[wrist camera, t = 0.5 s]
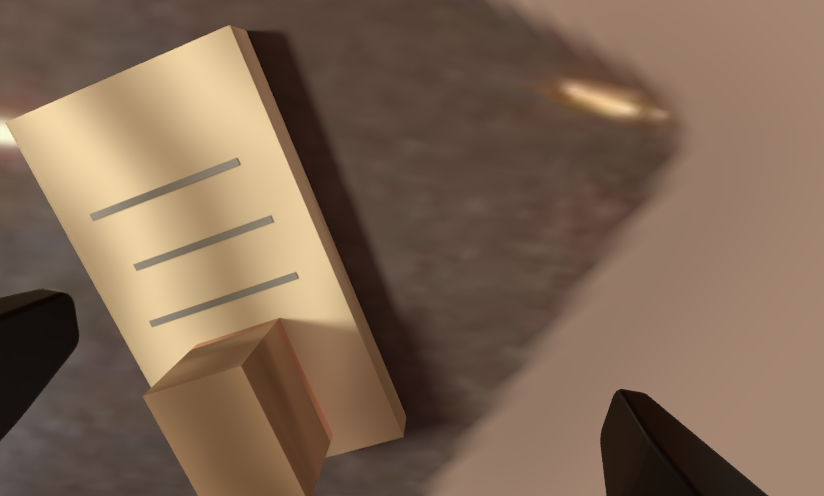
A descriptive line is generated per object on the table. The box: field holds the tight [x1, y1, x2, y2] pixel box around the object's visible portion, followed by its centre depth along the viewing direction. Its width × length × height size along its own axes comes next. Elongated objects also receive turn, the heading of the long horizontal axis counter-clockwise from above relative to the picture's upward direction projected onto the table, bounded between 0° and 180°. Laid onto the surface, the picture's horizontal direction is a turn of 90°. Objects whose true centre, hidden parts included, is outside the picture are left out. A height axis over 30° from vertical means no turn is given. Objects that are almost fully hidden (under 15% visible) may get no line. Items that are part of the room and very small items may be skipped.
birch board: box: [6, 25, 406, 458], centre depth 22 cm, size 10×18×2 cm, turn 20°
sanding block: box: [143, 318, 333, 496], centre depth 21 cm, size 4×6×4 cm, turn 20°
